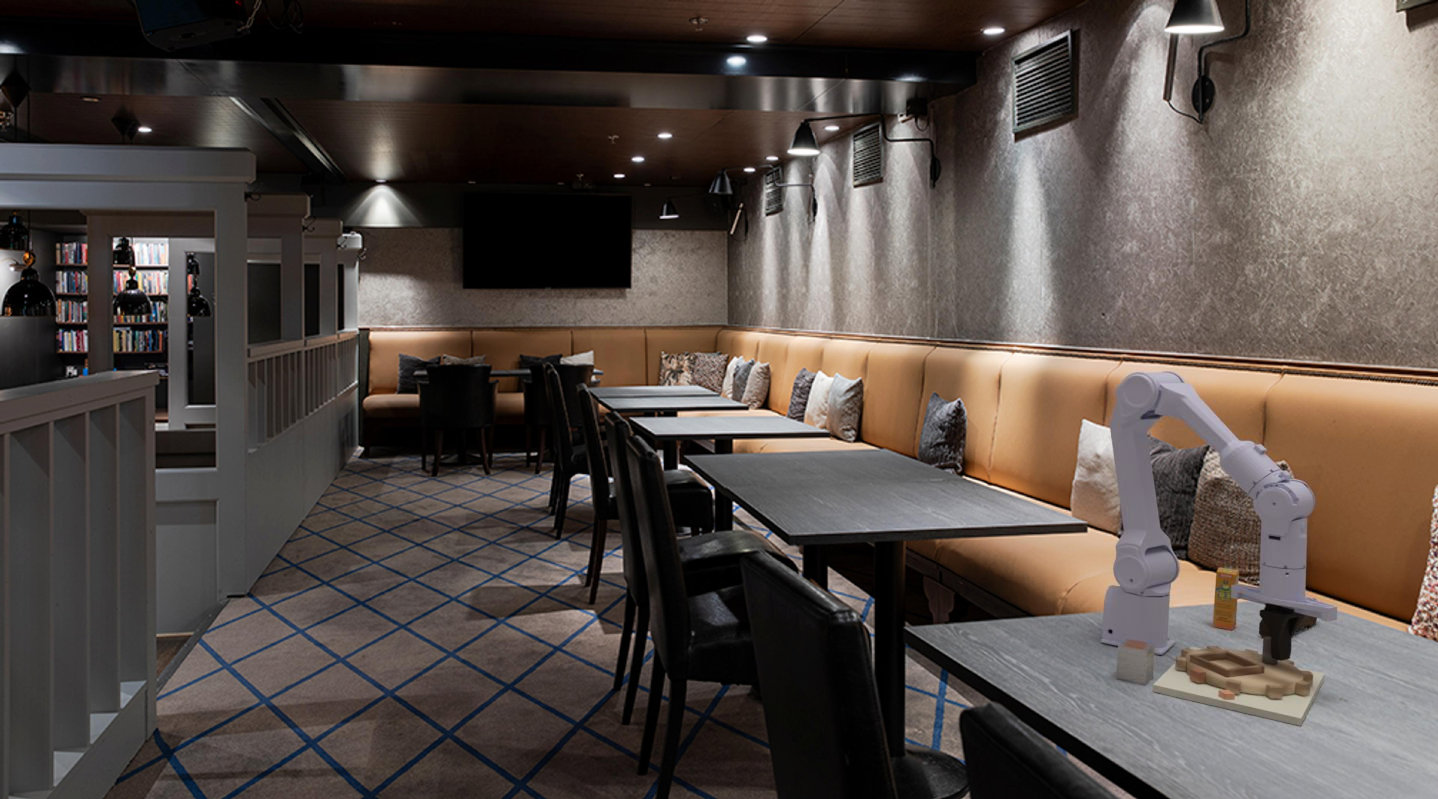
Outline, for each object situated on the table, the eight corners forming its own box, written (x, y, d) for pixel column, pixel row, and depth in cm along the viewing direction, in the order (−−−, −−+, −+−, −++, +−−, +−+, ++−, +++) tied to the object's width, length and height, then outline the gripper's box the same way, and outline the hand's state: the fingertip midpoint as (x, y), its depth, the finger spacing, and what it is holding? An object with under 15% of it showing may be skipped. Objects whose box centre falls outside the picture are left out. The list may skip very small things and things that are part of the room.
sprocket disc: (1241, 651, 151) (1243, 620, 150) (1341, 691, 134) (1344, 655, 134) (1149, 661, 145) (1151, 628, 145) (1243, 703, 129) (1245, 666, 129)
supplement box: (1211, 627, 167) (1214, 570, 167) (1215, 622, 170) (1218, 566, 169) (1233, 631, 165) (1236, 573, 164) (1236, 626, 168) (1240, 569, 167)
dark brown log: (1282, 645, 159) (1284, 617, 159) (1257, 638, 162) (1259, 611, 162) (1332, 626, 170) (1334, 600, 170) (1308, 620, 173) (1309, 595, 173)
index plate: (1152, 691, 136) (1153, 679, 136) (1190, 652, 153) (1191, 641, 153) (1300, 726, 125) (1301, 712, 125) (1324, 679, 142) (1325, 667, 142)
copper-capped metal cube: (1116, 679, 141) (1118, 643, 141) (1124, 671, 144) (1126, 636, 144) (1145, 685, 139) (1147, 649, 138) (1153, 678, 142) (1154, 642, 141)
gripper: (1351, 572, 134) (1348, 668, 135) (1253, 552, 147) (1251, 641, 148) (1320, 577, 131) (1317, 676, 132) (1222, 557, 144) (1220, 647, 145)
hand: (1280, 658), depth 140 cm, fingers closed, pressing on sprocket disc
